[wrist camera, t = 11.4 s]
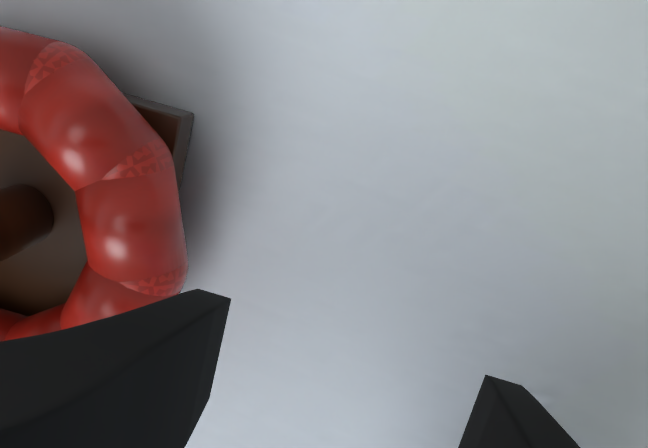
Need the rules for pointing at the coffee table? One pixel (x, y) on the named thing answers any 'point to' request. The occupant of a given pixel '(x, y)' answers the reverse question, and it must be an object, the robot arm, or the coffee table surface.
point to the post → (56, 215)
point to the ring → (95, 180)
